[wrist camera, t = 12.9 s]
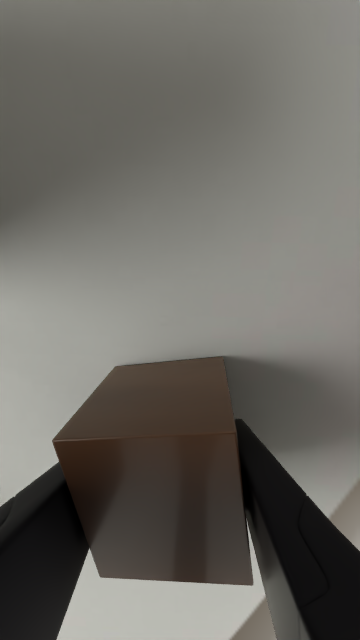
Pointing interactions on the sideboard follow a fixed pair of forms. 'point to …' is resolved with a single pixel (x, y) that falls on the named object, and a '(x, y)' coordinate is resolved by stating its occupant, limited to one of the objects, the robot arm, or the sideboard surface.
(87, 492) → the block
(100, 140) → the sideboard surface
